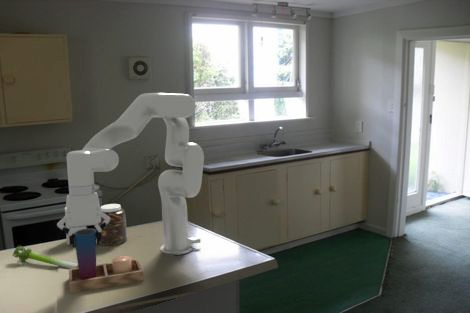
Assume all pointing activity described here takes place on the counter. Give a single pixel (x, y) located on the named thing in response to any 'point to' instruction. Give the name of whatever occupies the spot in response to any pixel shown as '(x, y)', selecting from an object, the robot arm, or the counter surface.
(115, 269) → the peach capsule shape
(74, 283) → the caddy
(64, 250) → the counter surface
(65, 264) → the leek
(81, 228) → the skincare box
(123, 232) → the jar
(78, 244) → the cup
